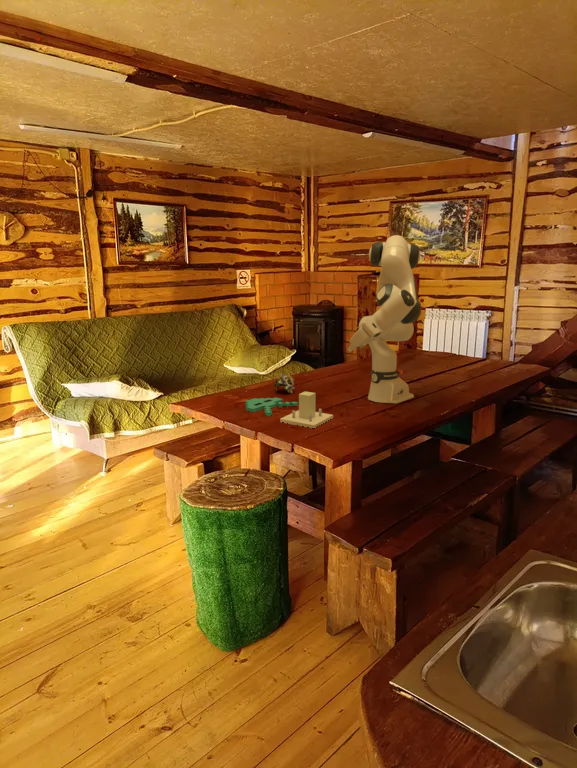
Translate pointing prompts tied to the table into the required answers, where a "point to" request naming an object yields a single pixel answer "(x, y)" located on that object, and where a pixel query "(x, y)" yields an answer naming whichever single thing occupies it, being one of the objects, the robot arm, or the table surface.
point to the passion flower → (285, 382)
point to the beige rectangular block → (307, 404)
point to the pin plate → (310, 422)
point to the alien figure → (266, 404)
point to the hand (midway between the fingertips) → (354, 348)
